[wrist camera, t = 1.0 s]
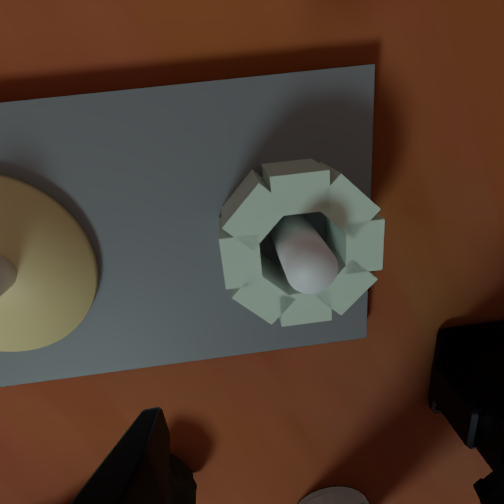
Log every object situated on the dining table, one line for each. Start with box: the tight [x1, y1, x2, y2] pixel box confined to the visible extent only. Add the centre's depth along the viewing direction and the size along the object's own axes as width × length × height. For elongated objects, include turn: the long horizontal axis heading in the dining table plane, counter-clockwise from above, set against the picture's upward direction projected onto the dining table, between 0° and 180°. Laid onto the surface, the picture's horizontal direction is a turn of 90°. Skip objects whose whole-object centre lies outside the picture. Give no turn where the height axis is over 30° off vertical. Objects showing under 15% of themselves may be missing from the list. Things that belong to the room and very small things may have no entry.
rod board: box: [0, 64, 375, 387], centre depth 16 cm, size 22×14×6 cm, turn 96°
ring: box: [219, 158, 385, 327], centre depth 16 cm, size 7×7×3 cm
